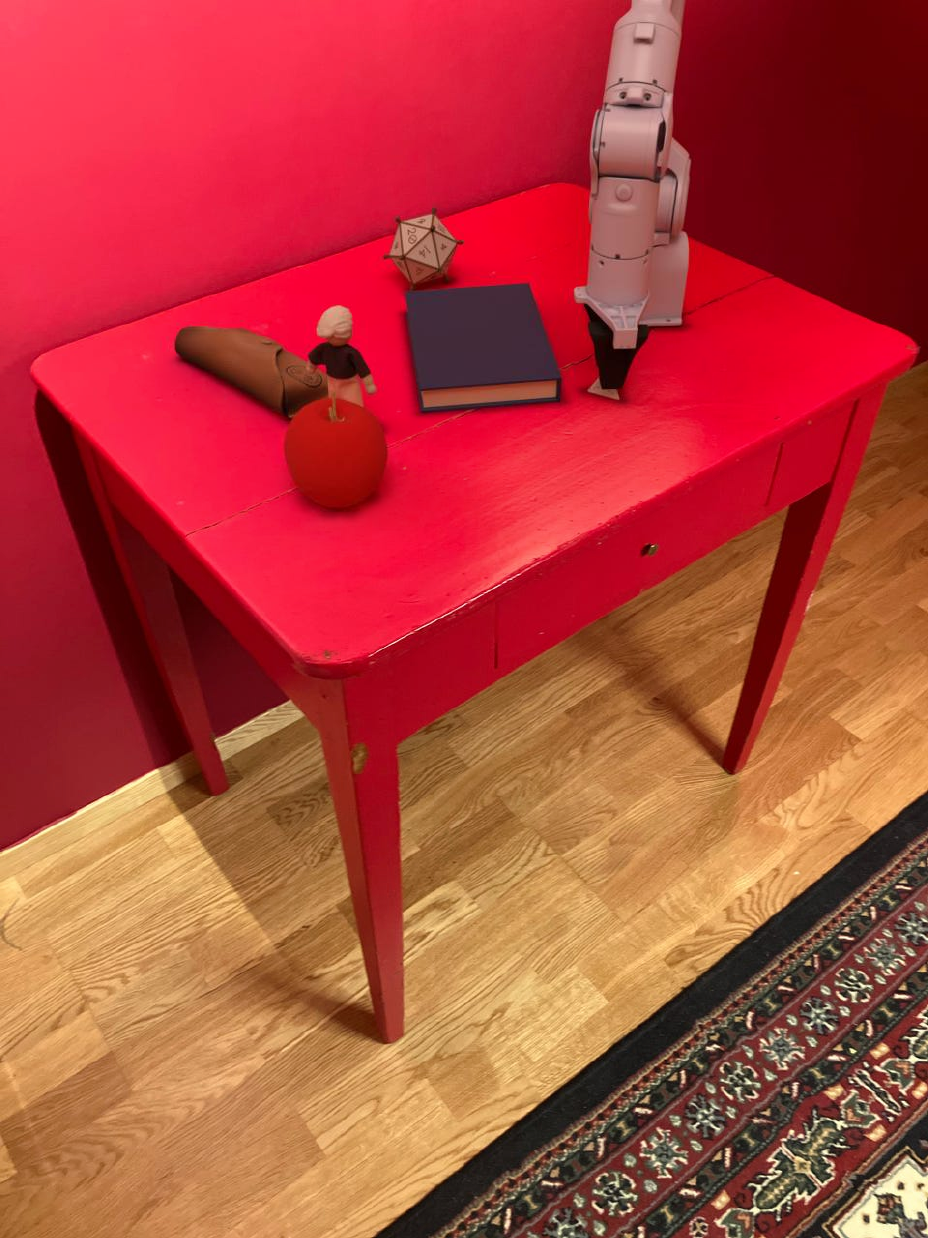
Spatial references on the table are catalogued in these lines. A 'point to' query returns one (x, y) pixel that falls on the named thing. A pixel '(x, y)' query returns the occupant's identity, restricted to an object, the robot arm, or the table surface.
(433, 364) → the book
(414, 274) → the game die
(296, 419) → the fruit
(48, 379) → the table surface
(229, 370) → the sunglasses case
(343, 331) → the grandmother figurine
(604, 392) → the tetrahedral die
